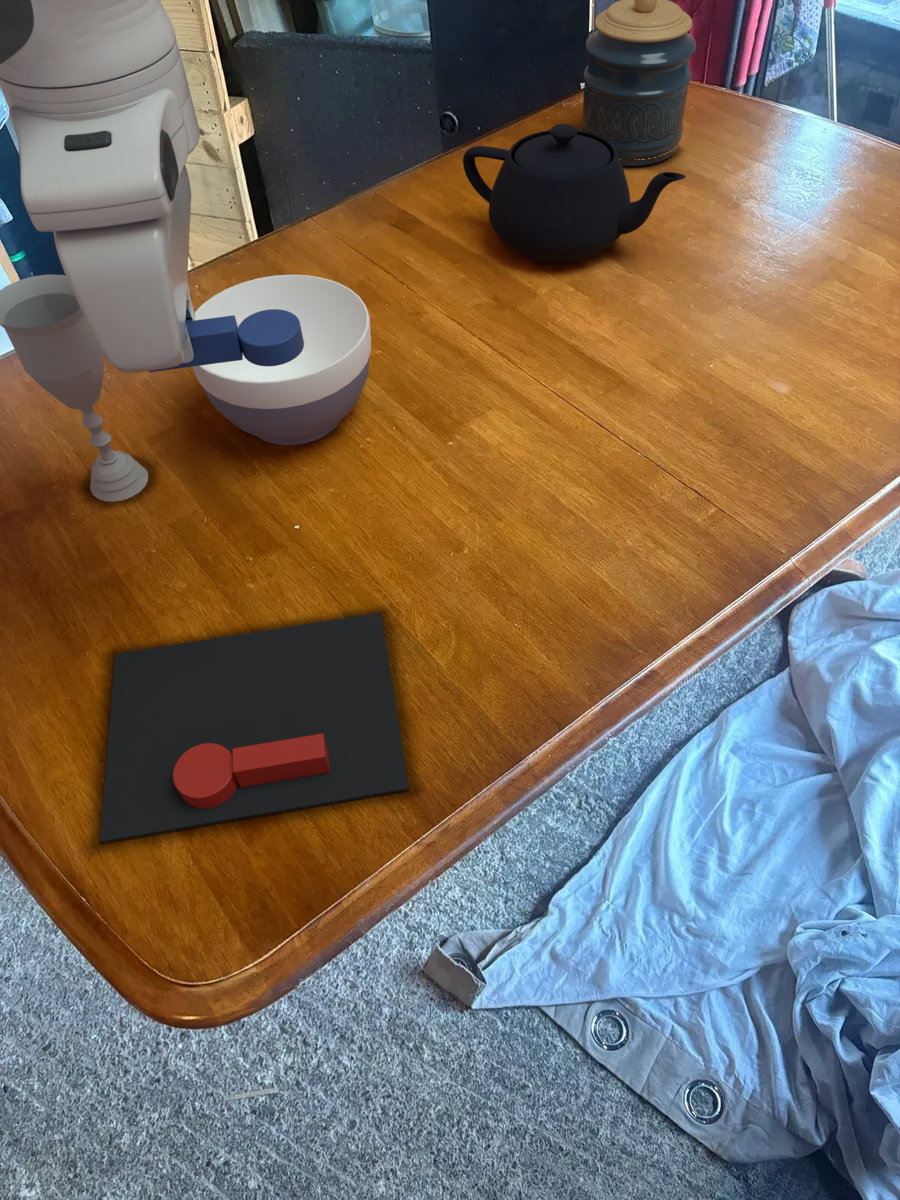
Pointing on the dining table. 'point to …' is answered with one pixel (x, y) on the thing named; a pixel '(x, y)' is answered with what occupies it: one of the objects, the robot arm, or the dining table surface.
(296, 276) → the bowl
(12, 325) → the chalice
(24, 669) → the dining table surface
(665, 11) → the canister
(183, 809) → the mat
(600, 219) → the teapot
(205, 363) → the blue spoon
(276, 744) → the red spoon
